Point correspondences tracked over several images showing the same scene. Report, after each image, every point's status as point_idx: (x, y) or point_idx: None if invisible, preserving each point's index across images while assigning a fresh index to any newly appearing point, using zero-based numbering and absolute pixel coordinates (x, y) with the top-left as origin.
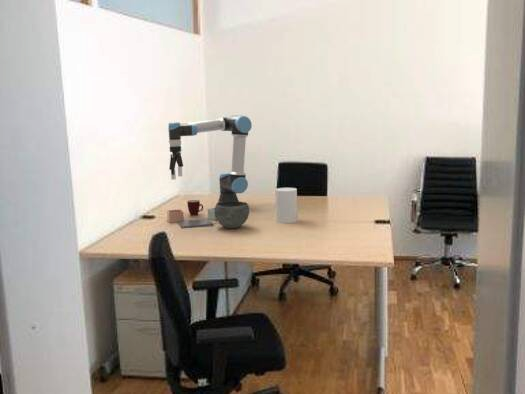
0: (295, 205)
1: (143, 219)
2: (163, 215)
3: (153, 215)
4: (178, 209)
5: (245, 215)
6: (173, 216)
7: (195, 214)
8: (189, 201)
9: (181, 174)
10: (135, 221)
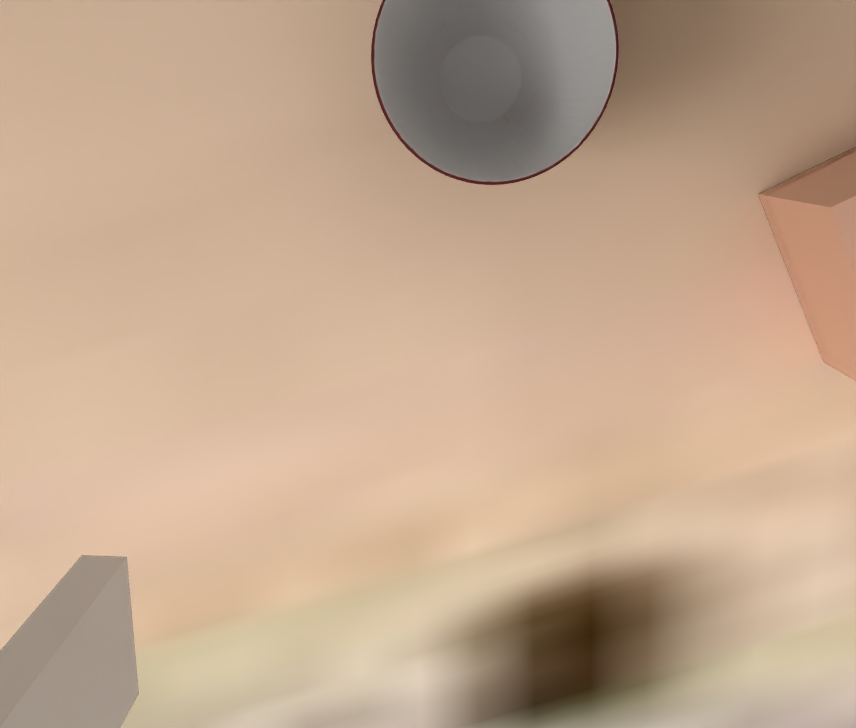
0: None
1: (704, 667)
2: (474, 512)
3: (478, 627)
4: (846, 242)
5: None
6: None
7: (532, 38)
8: (433, 163)
9: (94, 622)
10: (807, 716)
